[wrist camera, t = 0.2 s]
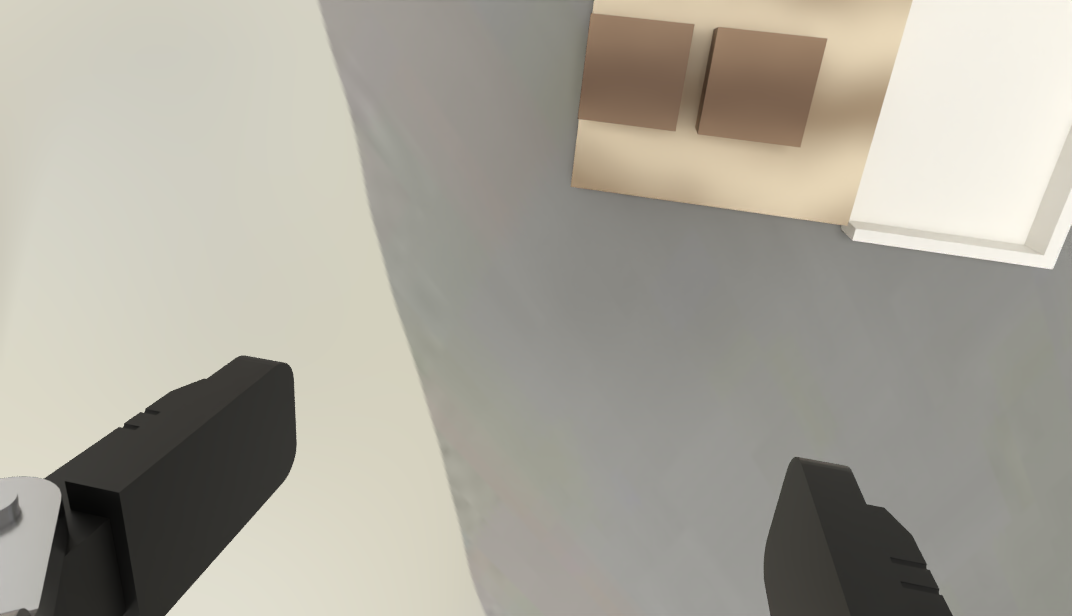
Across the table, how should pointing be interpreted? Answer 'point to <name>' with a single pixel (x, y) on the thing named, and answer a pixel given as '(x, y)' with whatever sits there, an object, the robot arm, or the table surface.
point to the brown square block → (634, 71)
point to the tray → (974, 134)
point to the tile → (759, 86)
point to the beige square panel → (745, 166)
